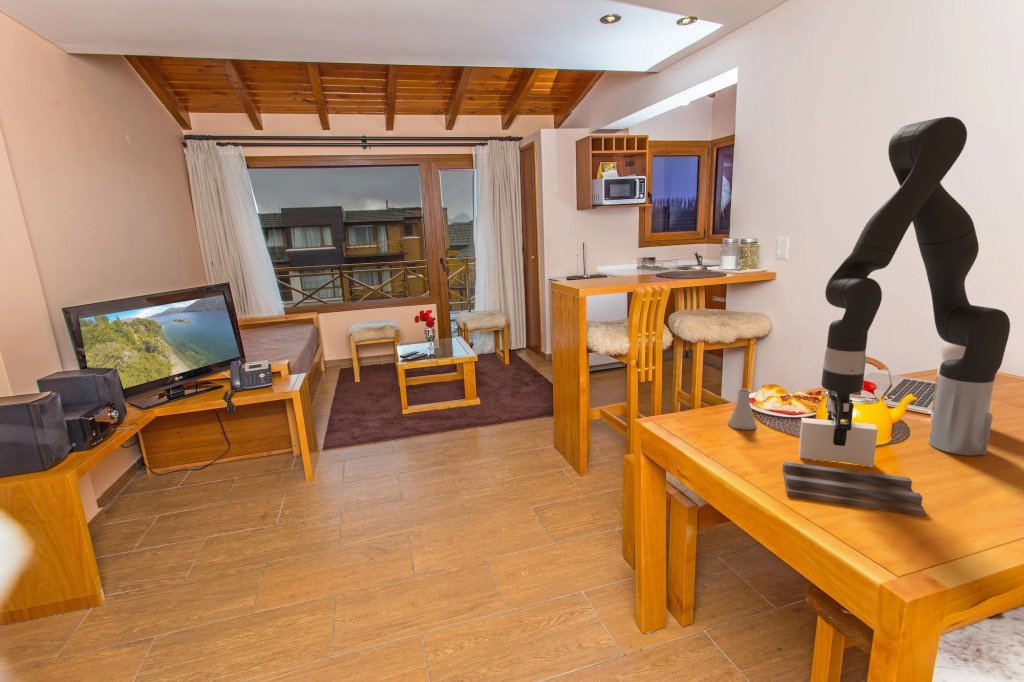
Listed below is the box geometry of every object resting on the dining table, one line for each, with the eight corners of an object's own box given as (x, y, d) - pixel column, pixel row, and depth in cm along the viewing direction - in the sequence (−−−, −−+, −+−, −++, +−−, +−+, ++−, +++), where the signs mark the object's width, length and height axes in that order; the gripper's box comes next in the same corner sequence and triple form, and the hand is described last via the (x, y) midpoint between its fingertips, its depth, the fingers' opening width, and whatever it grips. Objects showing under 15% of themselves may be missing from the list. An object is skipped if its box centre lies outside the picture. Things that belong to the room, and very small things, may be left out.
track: (904, 484, 100) (906, 472, 100) (924, 516, 90) (926, 503, 89) (782, 468, 109) (783, 457, 109) (787, 495, 99) (788, 483, 98)
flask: (760, 431, 129) (762, 395, 127) (730, 430, 130) (732, 394, 128) (752, 420, 136) (754, 386, 134) (724, 420, 137) (726, 385, 135)
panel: (869, 461, 111) (874, 424, 109) (873, 467, 108) (877, 429, 106) (798, 453, 116) (801, 417, 114) (799, 458, 114) (802, 422, 112)
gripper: (872, 379, 99) (862, 453, 103) (857, 361, 112) (848, 427, 116) (828, 375, 102) (820, 447, 106) (818, 358, 115) (811, 423, 119)
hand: (835, 437), depth 111 cm, fingers open, 8 cm apart
